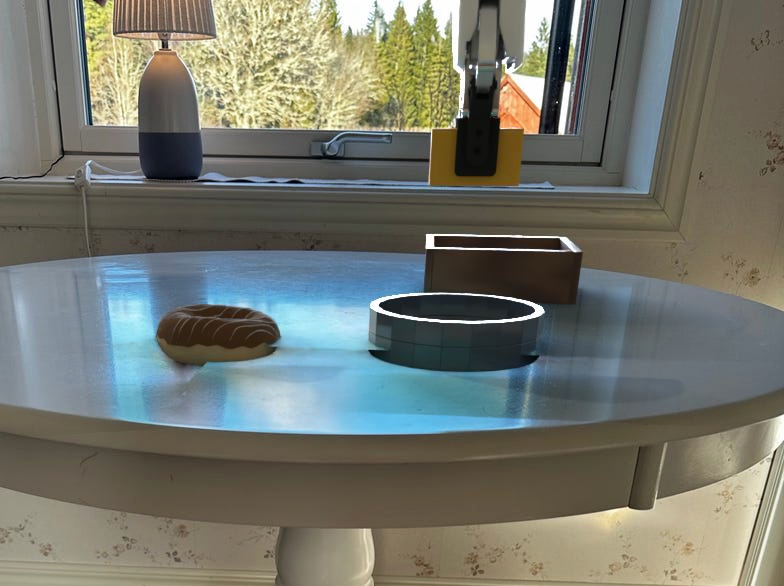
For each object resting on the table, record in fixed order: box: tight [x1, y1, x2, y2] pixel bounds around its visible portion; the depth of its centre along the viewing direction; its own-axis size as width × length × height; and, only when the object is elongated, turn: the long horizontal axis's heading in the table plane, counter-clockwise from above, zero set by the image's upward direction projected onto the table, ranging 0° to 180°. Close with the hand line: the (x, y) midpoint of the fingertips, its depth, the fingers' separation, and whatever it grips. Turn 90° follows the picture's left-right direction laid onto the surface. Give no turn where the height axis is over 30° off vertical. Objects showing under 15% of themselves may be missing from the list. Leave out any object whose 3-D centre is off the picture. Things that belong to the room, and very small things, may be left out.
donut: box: [155, 303, 282, 367], centre depth 81 cm, size 11×11×4 cm
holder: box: [422, 233, 584, 306], centre depth 104 cm, size 16×14×7 cm
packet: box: [428, 127, 525, 187], centre depth 76 cm, size 7×4×4 cm, turn 84°
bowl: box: [367, 292, 546, 373], centre depth 81 cm, size 14×14×4 cm
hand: (473, 171), depth 76 cm, fingers closed on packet, 4 cm apart
